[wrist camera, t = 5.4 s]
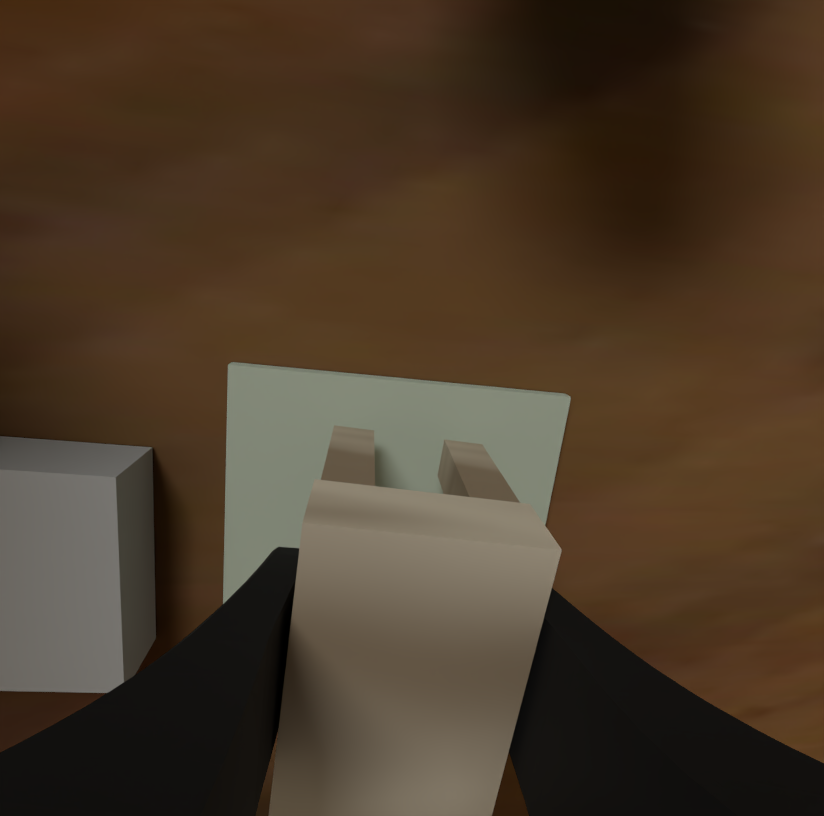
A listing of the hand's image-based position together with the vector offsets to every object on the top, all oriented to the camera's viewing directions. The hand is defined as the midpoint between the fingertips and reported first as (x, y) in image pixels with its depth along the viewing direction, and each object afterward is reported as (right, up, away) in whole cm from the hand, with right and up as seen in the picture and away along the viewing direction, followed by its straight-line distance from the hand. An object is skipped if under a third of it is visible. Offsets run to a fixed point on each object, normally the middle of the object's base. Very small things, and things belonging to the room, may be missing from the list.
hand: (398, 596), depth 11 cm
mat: (0, +1, +4) cm, 4 cm away
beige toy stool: (0, +1, +3) cm, 3 cm away
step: (-10, 0, +3) cm, 11 cm away
